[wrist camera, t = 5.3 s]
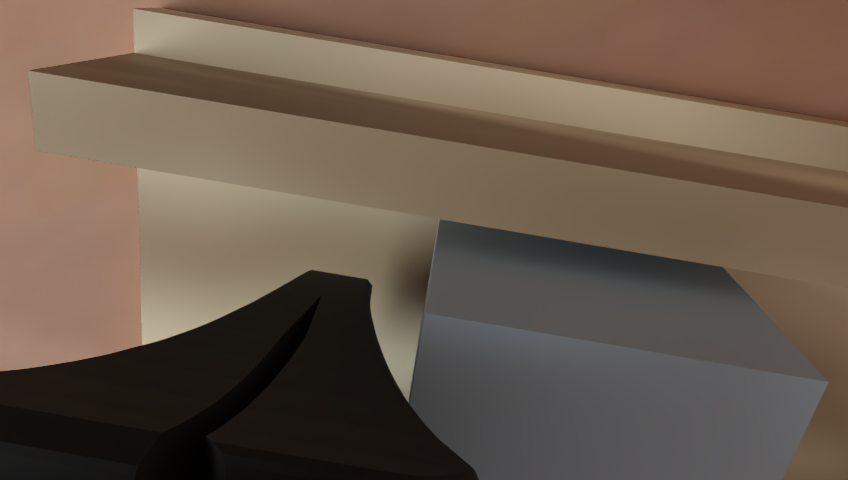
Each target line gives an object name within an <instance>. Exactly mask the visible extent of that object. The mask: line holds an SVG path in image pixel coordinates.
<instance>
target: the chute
mask: <svg viewBox="0 0 848 480" xmlns="http://www.w3.org/2000/svg"><path fill="white" fill-rule="evenodd" d="M133 25H134V53H131V54H125V55H119V56H113V57H107V58H101V59H95V60H89V61H82V62H76V63H70V64H64V65H58V66H52V67H46V68H40V69H34V70H28V76H29V87H30V97H31V108H32V119H33V130H34V141H35V151H41V152H46V153H52V154H58V155H64V156H70V157H76V158H82V159H88V160H94V161H100V162H105V163H111V164H117V165H123V166H129V167H135V168H137V172H138V208H139V245H140V282H141V319H142V345H145V344H149V343H153V342H157V341H160V340H163V339H166V338H169V337H172V336H175V335H178V334H181V333H183V332H186V331H189V330H192V329H195V328H197V327H200V326H202V325H205V324H207V323H209V322H212V321H214V320H216V319H218V318H221V317H223V316H225V315H227V314H229V313H231V312H233V311H235V310H237V309H239V308H241V307H244V306H246V305H248V304H250V303H252V302H254V301H256V300H257V299H259V298H261V297H263V296H265V295H266V294H268V293H270V292H272V291H274V290H276V289H277V288H279V287H281V286H283V285H284V284H286V283H288V282H290V281H291V280H293V279H295V278H296V277H298V276H300V275H302V274H304V273H305V272H307V271H310V270H316V271H322V272H328V273H333V274H339V275H345V276H351V277H357V278H363V279H368V280H369V282H370V283H371V284H372V294H371V301H370V308H371V315H372V320H373V324H374V328H375V332H376V336H377V339H378V342H379V345H380V348H381V350H382V353H383V356H384V358H385V361H386V363H387V365H388V367H389V370H390V372H391V374H392V375H393V377H394V379H395V381H396V383H397V385H398V387H399V388H400V390H401V392H402V393H403V395H404V397H405V398H406V400H407V401H408V397H409V391H410V385H411V380H412V374H413V368H414V362H415V356H416V351H417V345H418V339H419V333H420V327H421V322H422V316H423V310H424V304H425V298H426V292H427V287H428V281H429V275H430V269H431V263H432V258H433V252H434V246H435V240H436V234H437V229H438V223H439V219H442V220H448V221H454V222H460V223H465V224H471V225H477V226H483V227H489V228H495V229H501V230H507V231H513V232H519V233H524V234H530V235H536V236H542V237H548V238H554V239H560V240H566V241H572V242H578V243H583V244H589V245H595V246H601V247H607V248H613V249H619V250H625V251H631V252H637V253H643V254H648V255H654V256H660V257H666V258H672V259H678V260H684V261H690V262H696V263H702V264H707V265H713V266H719V267H723V268H724V269H725V270H726V271H727V272H728V273H729V274H730V275H731V277H732V278H733V279H734V280H735V281H736V282H737V283H738V284H739V285H740V286H741V287H742V288H743V290H744V291H745V292H746V293H747V294H748V295H749V296H750V297H751V298H752V299H753V300H754V302H755V303H756V304H757V305H758V306H759V307H760V308H761V309H762V310H763V311H764V312H765V313H766V315H767V316H768V317H769V318H770V319H771V320H772V321H773V322H774V323H775V324H776V325H777V327H778V328H779V329H780V330H781V331H782V332H783V333H784V334H785V335H786V336H787V337H788V338H789V340H790V341H791V342H792V343H793V344H794V345H795V346H796V347H797V348H798V349H799V350H800V351H801V353H802V354H803V355H804V356H805V357H806V358H807V359H808V360H809V361H810V362H811V363H812V365H813V366H814V367H815V368H816V369H817V370H818V371H819V372H820V373H821V374H822V375H823V376H824V378H825V379H826V380H827V381H828V382H829V383H828V385H827V387H826V389H825V391H824V393H823V395H822V397H821V399H820V401H819V403H818V405H817V408H816V410H815V412H814V414H813V416H812V418H811V420H810V422H809V424H808V426H807V428H806V430H805V432H804V434H803V437H802V439H801V441H800V443H799V445H798V447H797V449H796V451H795V453H794V455H793V457H792V459H791V461H790V463H789V465H788V468H787V470H786V472H785V474H784V476H783V478H782V480H848V122H845V121H839V120H833V119H827V118H821V117H815V116H809V115H803V114H797V113H791V112H785V111H779V110H773V109H767V108H761V107H755V106H749V105H743V104H737V103H731V102H725V101H719V100H713V99H707V98H701V97H695V96H689V95H683V94H677V93H670V92H664V91H658V90H652V89H646V88H640V87H634V86H628V85H622V84H616V83H610V82H604V81H598V80H592V79H586V78H580V77H574V76H568V75H562V74H556V73H550V72H544V71H538V70H532V69H526V68H520V67H514V66H508V65H502V64H496V63H490V62H483V61H477V60H471V59H465V58H459V57H453V56H447V55H441V54H435V53H429V52H423V51H417V50H411V49H405V48H399V47H393V46H387V45H381V44H375V43H369V42H363V41H357V40H351V39H345V38H339V37H333V36H327V35H321V34H315V33H309V32H303V31H296V30H290V29H284V28H278V27H272V26H266V25H260V24H254V23H248V22H242V21H236V20H230V19H224V18H218V17H212V16H206V15H200V14H194V13H188V12H182V11H176V10H170V9H164V8H135V9H133Z"/></svg>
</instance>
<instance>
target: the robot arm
mask: <svg viewBox="0 0 848 480" xmlns="http://www.w3.org/2000/svg"><path fill="white" fill-rule="evenodd" d="M371 294H372V284H371V283H370V282H369V280H368V279H363V278H357V277H351V276H345V275H339V274H333V273H328V272H322V271H316V270H310V271H307V272H305V273H304V274H302V275H300V276H298V277H296V278H295V279H293V280H291V281H290V282H288V283H286V284H284V285H283V286H281V287H279V288H277V289H276V290H274V291H272V292H270V293H268V294H266V295H265V296H263V297H261V298H259V299H257V300H256V301H254V302H252V303H250V304H248V305H246V306H244V307H241V308H239V309H237V310H235V311H233V312H231V313H229V314H227V315H225V316H223V317H221V318H218V319H216V320H214V321H212V322H209V323H207V324H205V325H202V326H200V327H197V328H195V329H192V330H189V331H186V332H183V333H181V334H178V335H175V336H172V337H169V338H166V339H163V340H160V341H157V342H153V343H149V344H145V345H142V346H138V347H134V348H130V349H127V350H123V351H119V352H115V353H112V354H107V355H103V356H98V357H93V358H88V359H83V360H78V361H73V362H67V363H61V364H55V365H49V366H42V367H35V368H28V369H20V370H10V371H0V480H479V479H478V476H477V473H476V472H475V470H474V469H473V468H472V467H471V466H470V465H469V464H468V463H467V462H465V461H464V460H463V459H462V458H461V457H459V456H458V455H457V454H456V453H455V452H454V451H452V450H451V449H450V448H449V447H448V446H446V445H445V444H444V443H443V442H442V441H441V440H440V439H439V438H438V437H437V436H436V435H435V434H434V433H433V432H432V431H431V430H430V429H429V428H428V427H427V426H426V425H425V424H424V423H423V421H422V420H421V419H420V417H419V416H418V415H417V413H416V412H415V411H414V409H413V408H412V407H411V405H410V404H409V403H408V401H407V400H406V398H405V397H404V395H403V393H402V392H401V390H400V388H399V387H398V385H397V383H396V381H395V379H394V377H393V375H392V374H391V372H390V370H389V367H388V365H387V363H386V361H385V358H384V356H383V353H382V350H381V348H380V345H379V342H378V339H377V336H376V332H375V328H374V324H373V320H372V315H371V308H370V301H371Z"/></svg>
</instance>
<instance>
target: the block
mask: <svg viewBox="0 0 848 480" xmlns="http://www.w3.org/2000/svg"><path fill="white" fill-rule="evenodd" d="M828 383H829V382H828V381H827V380H826V379H825V378H824V376H823V375H822V374H821V373H820V372H819V371H818V370H817V369H816V368H815V367H814V366H813V365H812V363H811V362H810V361H809V360H808V359H807V358H806V357H805V356H804V355H803V354H802V353H801V351H800V350H799V349H798V348H797V347H796V346H795V345H794V344H793V343H792V342H791V341H790V340H789V338H788V337H787V336H786V335H785V334H784V333H783V332H782V331H781V330H780V329H779V328H778V327H777V325H776V324H775V323H774V322H773V321H772V320H771V319H770V318H769V317H768V316H767V315H766V313H765V312H764V311H763V310H762V309H761V308H760V307H759V306H758V305H757V304H756V303H755V302H754V300H753V299H752V298H751V297H750V296H749V295H748V294H747V293H746V292H745V291H744V290H743V288H742V287H741V286H740V285H739V284H738V283H737V282H736V281H735V280H734V279H733V278H732V277H731V275H730V274H729V273H728V272H727V271H726V270H725V269H724V268H723V267H719V266H713V265H707V264H702V263H696V262H690V261H684V260H678V259H672V258H666V257H660V256H654V255H648V254H643V253H637V252H631V251H625V250H619V249H613V248H607V247H601V246H595V245H589V244H583V243H578V242H572V241H566V240H560V239H554V238H548V237H542V236H536V235H530V234H524V233H519V232H513V231H507V230H501V229H495V228H489V227H483V226H477V225H471V224H465V223H460V222H454V221H448V220H442V219H439V223H438V229H437V234H436V240H435V246H434V252H433V258H432V263H431V269H430V275H429V281H428V287H427V292H426V298H425V304H424V310H423V316H422V322H421V327H420V333H419V339H418V345H417V351H416V356H415V362H414V368H413V374H412V380H411V385H410V391H409V397H408V403H409V404H410V405H411V407H412V408H413V409H414V411H415V412H416V413H417V415H418V416H419V417H420V419H421V420H422V421H423V423H424V424H425V425H426V426H427V427H428V428H429V429H430V430H431V431H432V432H433V433H434V434H435V435H436V436H437V437H438V438H439V439H440V440H441V441H442V442H443V443H444V444H445V445H446V446H448V447H449V448H450V449H451V450H452V451H454V452H455V453H456V454H457V455H458V456H459V457H461V458H462V459H463V460H464V461H465V462H467V463H468V464H469V465H470V466H471V467H472V468H473V469H474V470H475V472H476V473H477V476H478V479H479V480H782V478H783V476H784V474H785V472H786V470H787V468H788V465H789V463H790V461H791V459H792V457H793V455H794V453H795V451H796V449H797V447H798V445H799V443H800V441H801V439H802V437H803V434H804V432H805V430H806V428H807V426H808V424H809V422H810V420H811V418H812V416H813V414H814V412H815V410H816V408H817V405H818V403H819V401H820V399H821V397H822V395H823V393H824V391H825V389H826V387H827V385H828Z"/></svg>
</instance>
